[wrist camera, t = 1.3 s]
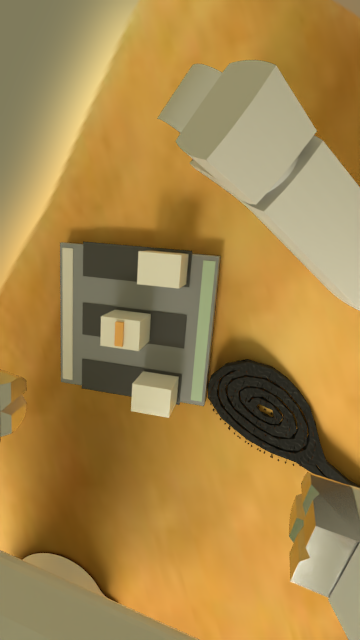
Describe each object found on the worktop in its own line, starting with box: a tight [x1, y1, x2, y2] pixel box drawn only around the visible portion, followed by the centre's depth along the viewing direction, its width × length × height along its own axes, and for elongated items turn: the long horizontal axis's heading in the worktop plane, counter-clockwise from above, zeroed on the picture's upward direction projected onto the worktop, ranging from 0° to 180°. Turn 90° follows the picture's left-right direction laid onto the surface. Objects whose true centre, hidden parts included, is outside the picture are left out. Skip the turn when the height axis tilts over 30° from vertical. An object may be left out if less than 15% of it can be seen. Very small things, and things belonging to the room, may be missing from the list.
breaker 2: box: [137, 251, 189, 289], centre depth 33 cm, size 3×4×4 cm
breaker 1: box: [100, 310, 151, 351], centre depth 35 cm, size 3×4×4 cm
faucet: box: [157, 60, 360, 311], centre depth 28 cm, size 6×16×20 cm
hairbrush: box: [208, 359, 360, 488], centre depth 36 cm, size 8×4×25 cm
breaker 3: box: [131, 371, 179, 418], centre depth 36 cm, size 3×4×4 cm
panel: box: [60, 242, 221, 406], centre depth 38 cm, size 17×17×2 cm
